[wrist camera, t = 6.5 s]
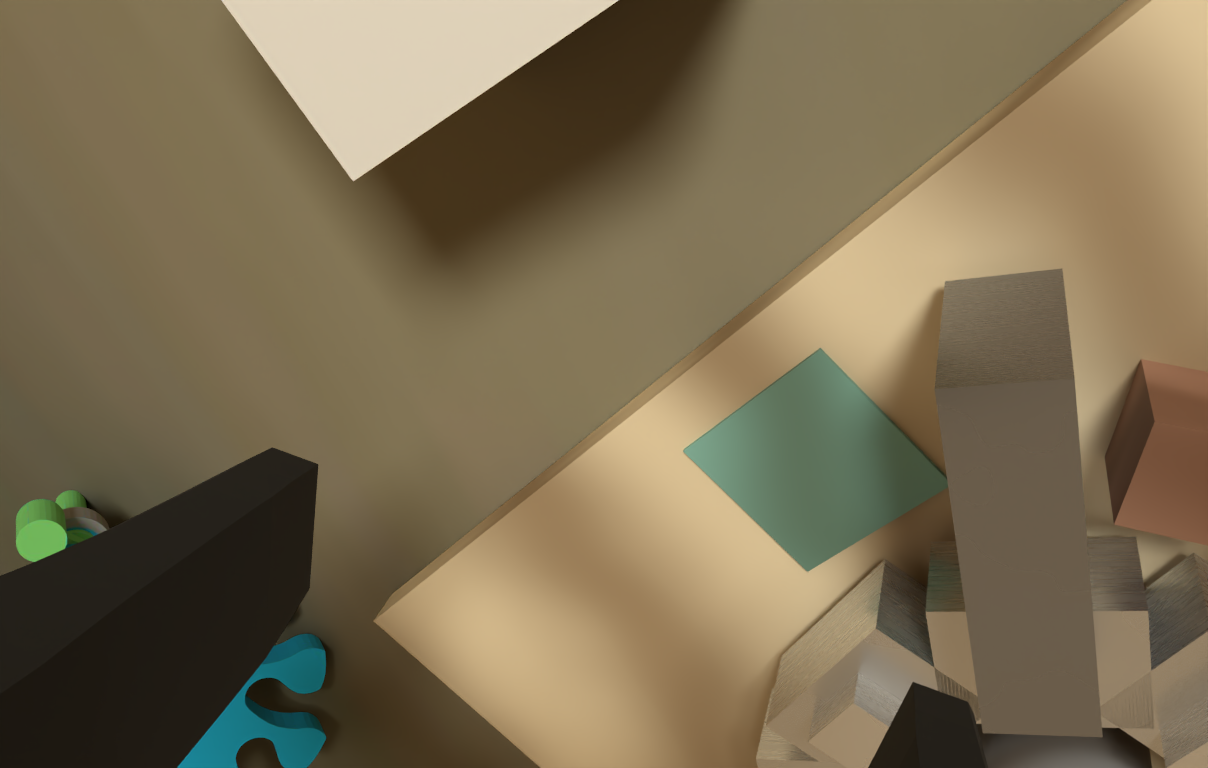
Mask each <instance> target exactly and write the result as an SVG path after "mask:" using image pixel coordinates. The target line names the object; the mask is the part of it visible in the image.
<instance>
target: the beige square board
mask: <svg viewBox="0 0 1208 768" xmlns="http://www.w3.org/2000/svg"><path fill="white" fill-rule="evenodd" d="M1053 269H1062V270H1063V279H1064V288H1065V296H1066V305H1067V314H1068V323H1069V332H1070V341H1071V350H1072V359H1073V368H1074V377H1075V389H1076V402H1077V415H1078V428H1079V441H1080V453H1081V466H1082V479H1083V492H1084V505H1085V517H1086V530H1087V538H1103V537H1136V540H1137V546H1138V552H1139V558H1140V564H1141V570H1142V576H1143V582H1144V588H1145V589H1146V588H1147V587H1148V586H1150V585H1151V584H1152V583H1154V582H1155V581H1156V580H1158V579H1159V578H1160V577H1162V576H1163V575H1164V574H1166V573H1167V572H1168V571H1170V570H1171V569H1172V568H1174V567H1175V566H1176V565H1178V564H1179V563H1180V562H1182V561H1183V560H1184V559H1186V558H1187V557H1188V556H1190V555H1191V554H1192V553H1195V554H1197V555H1198V556H1200V557H1201V558H1203V559H1204V560H1206V561H1207V562H1208V0H1127V1H1126V2H1125V3H1123V4H1122V5H1121V6H1120V7H1118V8H1117V9H1116V10H1115V11H1113V12H1112V13H1111V14H1110V15H1108V16H1107V17H1106V18H1105V19H1103V20H1102V21H1101V22H1100V23H1099V24H1097V25H1096V26H1095V27H1094V28H1092V29H1091V30H1090V31H1089V32H1087V33H1086V34H1085V35H1084V36H1082V37H1081V38H1080V39H1079V40H1077V41H1076V42H1075V43H1074V44H1073V45H1071V46H1070V47H1069V48H1068V49H1066V50H1065V51H1064V52H1063V53H1061V54H1060V55H1059V56H1058V57H1056V58H1055V59H1054V60H1053V61H1051V62H1050V63H1049V64H1048V65H1047V66H1045V67H1044V68H1043V69H1042V70H1040V71H1039V72H1038V73H1037V74H1035V75H1034V76H1033V77H1032V78H1030V79H1029V80H1028V81H1027V82H1025V83H1024V84H1023V85H1022V86H1021V87H1019V88H1018V89H1017V90H1016V91H1014V92H1013V93H1012V94H1011V95H1009V96H1008V97H1007V98H1006V99H1004V100H1003V101H1002V102H1001V103H999V104H998V105H997V106H996V107H995V108H993V109H992V110H991V111H990V112H988V113H987V114H986V115H985V116H983V117H982V118H981V119H980V120H978V121H977V122H976V123H975V124H973V125H972V126H971V127H970V128H969V129H967V130H966V131H965V132H964V133H962V134H961V135H960V136H959V137H957V138H956V139H955V140H954V141H952V142H951V143H950V144H949V145H947V146H946V147H945V148H944V149H943V150H941V151H940V152H939V153H938V154H936V155H935V156H934V157H933V158H931V159H930V160H929V161H928V162H926V163H925V164H924V165H923V166H921V167H920V168H919V169H918V170H917V171H915V172H914V173H913V174H912V175H910V176H909V177H908V178H907V179H905V180H904V181H903V182H902V183H900V184H899V185H898V186H897V187H895V188H894V189H893V190H892V191H891V192H889V193H888V194H887V195H886V196H884V197H883V198H882V199H881V200H879V201H878V202H877V203H876V204H874V205H873V206H872V207H871V208H869V209H868V210H867V211H866V212H865V213H863V214H862V215H861V216H860V217H858V218H857V219H856V220H855V221H853V222H852V223H851V224H850V225H848V226H847V227H846V228H845V229H843V230H842V231H841V232H840V233H839V234H837V235H836V236H835V237H834V238H832V239H831V240H830V241H829V242H827V243H826V244H825V245H824V246H822V247H821V248H820V249H819V250H817V251H816V252H815V253H814V254H813V255H811V256H810V257H809V258H808V259H806V260H805V261H804V262H803V263H801V264H800V265H799V266H798V267H796V268H795V269H794V270H793V271H791V272H790V273H789V274H788V275H787V276H785V277H784V278H783V279H782V280H780V281H779V282H778V283H777V284H775V285H774V286H773V287H772V288H770V289H769V290H768V291H767V292H765V293H764V294H763V295H762V296H761V297H759V298H758V299H757V300H756V301H754V302H753V303H752V304H751V305H749V306H748V307H747V308H746V309H744V310H743V311H742V312H741V313H739V314H738V315H737V316H736V317H735V318H733V319H732V320H731V321H730V322H728V323H727V324H726V325H725V326H723V327H722V328H721V329H720V330H718V331H717V332H716V333H715V334H713V335H712V336H711V337H710V338H709V339H707V340H706V341H705V342H704V343H702V344H701V345H700V346H699V347H697V348H696V349H695V350H694V351H692V352H691V353H690V354H689V355H687V356H686V357H685V358H684V359H683V360H681V361H680V362H679V363H678V364H676V365H675V366H674V367H673V368H671V369H670V370H669V371H668V372H666V373H665V374H664V375H663V376H661V377H660V378H659V379H658V380H657V381H655V382H654V383H653V384H652V385H650V386H649V387H648V388H647V389H645V390H644V391H643V392H642V393H640V394H639V395H638V396H637V397H635V398H634V399H633V400H632V401H631V402H629V403H628V404H627V405H626V406H624V407H623V408H622V409H621V410H619V411H618V412H617V413H616V414H614V415H613V416H612V417H611V418H609V419H608V420H607V421H606V422H605V423H603V424H602V425H601V426H600V427H598V428H597V429H596V430H595V431H593V432H592V433H591V434H590V435H588V436H587V437H586V438H585V439H583V440H582V441H581V442H580V443H579V444H577V445H576V446H575V447H574V448H572V449H571V450H570V451H569V452H567V453H566V454H565V455H564V456H562V457H561V458H560V459H559V460H557V461H556V462H555V463H554V464H553V465H551V466H550V467H549V468H548V469H546V470H545V471H544V472H543V473H541V474H540V475H539V476H538V477H536V478H535V479H534V480H533V481H531V482H530V483H529V484H528V485H527V486H525V487H524V488H523V489H522V490H520V491H519V492H518V493H517V494H515V495H514V496H513V497H512V498H510V499H509V500H508V501H507V502H505V503H504V504H503V505H502V506H501V507H499V508H498V509H497V510H496V511H494V512H493V513H492V514H491V515H489V516H488V517H487V518H486V519H484V520H483V521H482V522H481V523H479V524H478V525H477V526H476V527H475V528H473V529H472V530H471V531H470V532H468V533H467V534H466V535H465V536H463V537H462V538H461V539H460V540H458V541H457V542H456V543H455V544H453V545H452V546H451V547H450V548H449V549H447V550H446V551H445V552H444V553H442V554H441V555H440V556H439V557H437V558H436V559H435V560H434V561H432V562H431V563H430V564H429V565H427V566H426V567H425V568H424V569H423V570H421V571H420V572H419V573H418V574H416V575H415V576H414V577H413V578H411V579H410V580H409V581H408V582H406V583H405V584H404V585H403V586H401V587H400V588H399V589H398V590H397V591H395V592H394V593H393V594H392V595H391V596H390V597H389V599H388V600H387V602H386V603H385V605H384V606H383V608H382V609H381V611H380V612H379V613H378V615H377V616H376V618H375V619H374V622H375V623H376V624H377V625H379V626H380V627H381V628H382V629H383V630H384V631H385V632H387V633H388V634H389V635H390V636H391V637H392V638H393V639H395V640H396V641H397V642H398V643H399V644H400V645H401V646H403V647H404V648H405V649H406V650H407V651H408V652H409V653H410V654H412V655H413V656H414V657H415V658H416V659H417V660H418V661H420V662H421V663H422V664H423V665H424V666H425V667H426V668H428V669H429V670H430V671H431V672H432V673H433V674H434V675H436V676H437V677H438V678H439V679H440V680H441V681H442V682H443V683H445V684H446V685H447V686H448V687H449V688H450V689H451V690H453V691H454V692H455V693H456V694H457V695H458V696H459V697H461V698H462V699H463V700H464V701H465V702H466V703H467V704H469V705H470V706H471V707H472V708H473V709H474V710H475V711H477V712H478V713H479V714H480V715H481V716H482V717H483V718H484V719H486V720H487V721H488V722H489V723H490V724H491V725H492V726H494V727H495V728H496V729H497V730H498V731H499V732H500V733H502V734H503V735H504V736H505V737H506V738H507V739H508V740H510V741H511V742H512V743H513V744H514V745H515V746H516V747H518V748H519V749H520V750H521V751H522V752H523V753H524V754H525V755H527V756H528V757H529V758H530V759H531V760H532V761H533V762H535V763H536V764H537V765H538V766H539V767H540V768H758V766H757V762H756V755H757V751H758V747H759V743H760V738H761V734H762V730H763V725H764V721H765V717H766V713H767V708H768V704H769V700H770V695H771V691H772V688H775V683H776V679H777V675H778V670H779V666H780V662H781V657H782V655H783V654H784V653H785V652H786V651H788V650H789V649H790V648H791V647H792V646H793V645H794V644H795V643H796V642H797V641H798V640H799V639H800V638H801V637H802V636H804V635H805V634H806V633H807V632H808V631H809V630H810V629H811V628H812V627H813V626H814V625H815V624H816V623H817V622H818V621H820V620H821V619H822V618H823V617H824V616H825V615H826V614H827V613H828V612H829V611H830V610H831V609H832V608H833V607H834V606H836V605H837V604H838V603H839V602H840V601H841V600H842V599H843V598H844V597H845V596H846V595H847V594H848V593H849V592H850V591H852V590H853V589H854V588H855V587H856V586H857V585H858V584H859V583H860V582H861V581H862V580H863V579H864V578H865V577H866V576H868V575H869V574H870V573H871V572H872V571H873V570H874V569H875V568H876V567H877V566H878V565H879V564H880V563H881V562H882V561H884V560H885V559H886V560H888V561H889V562H890V563H892V564H893V565H895V566H896V567H898V568H899V569H901V570H902V571H904V572H905V573H907V574H908V575H910V576H911V577H913V578H914V579H916V580H917V581H919V582H920V583H922V584H923V585H925V586H926V587H928V575H929V563H930V551H931V542H950V541H956V539H955V531H954V524H953V517H952V510H951V503H950V496H949V489H948V482H947V474H946V467H945V460H944V453H943V446H942V439H941V432H940V425H939V417H938V410H937V403H936V396H935V379H936V369H937V358H938V348H939V338H940V328H941V317H942V307H943V297H944V286H945V281H952V280H961V279H970V278H979V277H988V276H998V275H1007V274H1016V273H1025V272H1034V271H1043V270H1053ZM977 728H978V732H979V736H980V739H981V743H982V747H983V750H984V754H985V757H986V761H987V765H988V768H1166V767H1165V760H1164V758H1163V757H1162V756H1160V755H1159V754H1157V753H1156V752H1154V751H1153V750H1151V749H1150V748H1148V747H1147V746H1145V745H1144V744H1142V743H1141V742H1139V741H1138V740H1136V739H1135V738H1133V737H1132V736H1130V735H1129V734H1127V733H1126V732H1124V731H1123V730H1121V729H1120V728H1102V735H1103V737H1081V736H1051V735H1022V734H993V733H983V731H982V724H977Z"/></svg>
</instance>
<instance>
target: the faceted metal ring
mask: <svg viewBox="0 0 1208 768" xmlns="http://www.w3.org/2000/svg"><path fill="white" fill-rule="evenodd" d="M935 396H936V403H937V410H938V417H939V425H940V432H941V439H942V446H943V453H944V460H945V467H946V474H947V482H948V489H949V496H950V503H951V510H952V517H953V524H954V531H955V539H956V541H950V542H931V551H930V563H929V575H928V587H926V586H925V585H923V584H922V583H920V582H919V581H917V580H916V579H914V578H913V577H911V576H910V575H908V574H907V573H905V572H904V571H902V570H901V569H899V568H898V567H896V566H895V565H893V564H892V563H890V562H889V561H888V560H886V559H885V560H884V561H882V562H881V563H880V564H879V565H878V566H877V567H876V568H875V569H874V570H873V571H872V572H871V573H870V574H869V575H868V576H866V577H865V578H864V579H863V580H862V581H861V582H860V583H859V584H858V585H857V586H856V587H855V588H854V589H853V590H852V591H850V592H849V593H848V594H847V595H846V596H845V597H844V598H843V599H842V600H841V601H840V602H839V603H838V604H837V605H836V606H834V607H833V608H832V609H831V610H830V611H829V612H828V613H827V614H826V615H825V616H824V617H823V618H822V619H821V620H820V621H818V622H817V623H816V624H815V625H814V626H813V627H812V628H811V629H810V630H809V631H808V632H807V633H806V634H805V635H804V636H802V637H801V638H800V639H799V640H798V641H797V642H796V643H795V644H794V645H793V646H792V647H791V648H790V649H789V650H788V651H786V652H785V653H784V654H783V655H782V657H781V662H780V666H779V670H778V675H777V679H776V683H775V688H772V691H771V695H770V700H769V704H768V708H767V713H766V717H765V721H764V725H763V730H762V734H761V738H760V743H759V747H758V751H757V755H756V762H757V766H758V768H868V767H869V765H870V763H871V761H872V759H873V757H874V755H875V753H876V752H877V750H878V748H879V746H880V744H881V742H882V740H883V738H884V736H885V734H886V732H887V730H888V729H889V727H890V725H891V723H892V721H893V719H894V717H895V715H896V713H897V711H898V709H899V707H900V705H901V704H902V702H903V700H904V698H905V696H906V694H907V692H908V690H909V688H910V686H911V684H912V682H915V683H918V684H921V685H923V686H926V687H929V688H932V689H934V690H937V691H940V692H943V693H945V694H948V695H951V696H954V697H956V698H959V699H962V700H965V701H967V702H968V703H969V705H970V707H971V709H972V711H973V713H974V717H975V721H976V724H982V731H983V733H993V734H1022V735H1051V736H1081V737H1103V735H1102V728H1120V729H1121V730H1123V731H1124V732H1126V733H1127V734H1129V735H1130V736H1132V737H1133V738H1135V739H1136V740H1138V741H1139V742H1141V743H1142V744H1144V745H1145V746H1147V747H1148V748H1150V749H1151V750H1153V751H1154V752H1156V753H1157V754H1159V755H1160V756H1162V757H1163V758H1164V760H1165V767H1166V768H1208V562H1207V561H1206V560H1204V559H1203V558H1201V557H1200V556H1198V555H1197V554H1195V553H1192V554H1191V555H1190V556H1188V557H1187V558H1186V559H1184V560H1183V561H1182V562H1180V563H1179V564H1178V565H1176V566H1175V567H1174V568H1172V569H1171V570H1170V571H1168V572H1167V573H1166V574H1164V575H1163V576H1162V577H1160V578H1159V579H1158V580H1156V581H1155V582H1154V583H1152V584H1151V585H1150V586H1148V587H1147V588H1146V589H1145V588H1144V582H1143V576H1142V570H1141V564H1140V558H1139V552H1138V546H1137V540H1136V537H1103V538H1087V530H1086V517H1085V505H1084V492H1083V479H1082V466H1081V453H1080V441H1079V428H1078V415H1077V402H1076V389H1075V377H1074V368H1073V359H1072V350H1071V341H1070V332H1069V323H1068V314H1067V305H1066V296H1065V288H1064V279H1063V270H1062V269H1053V270H1043V271H1034V272H1025V273H1016V274H1007V275H998V276H988V277H979V278H970V279H961V280H952V281H945V286H944V297H943V307H942V317H941V328H940V338H939V348H938V358H937V369H936V379H935Z"/></svg>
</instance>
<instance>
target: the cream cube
mask: <svg viewBox="0 0 1208 768" xmlns="http://www.w3.org/2000/svg"><path fill="white" fill-rule="evenodd" d="M617 1H618V0H222V2H223V3H224V4H225V6H226V7H227V9H228V10H229V11H230V13H231V14H232V15H233V17H234V18H235V20H236V21H237V22H238V24H239V25H240V26H241V28H242V29H243V31H244V32H245V33H246V35H247V36H248V37H249V39H250V40H251V42H252V43H253V44H254V46H255V47H256V48H257V50H258V51H259V53H260V54H261V55H262V57H263V58H264V59H265V61H266V62H267V64H268V65H269V66H270V68H271V69H272V70H273V72H274V73H275V75H276V76H277V77H278V79H279V80H280V81H281V83H282V84H283V86H284V87H285V88H286V90H287V91H288V92H289V94H290V95H291V97H292V98H293V99H294V101H295V102H296V103H297V105H298V106H299V108H300V109H301V110H302V112H303V113H304V114H305V116H306V117H307V119H308V120H309V121H310V123H311V124H312V125H313V127H314V128H315V130H316V131H317V132H318V134H319V135H320V136H321V138H322V139H323V141H324V142H325V143H326V145H327V146H328V147H329V149H330V150H331V152H332V153H333V154H334V156H335V157H336V158H337V160H338V161H339V163H340V164H341V165H342V167H343V168H344V169H345V171H346V172H347V174H348V175H349V176H350V178H351V179H352V180H353V181H354V180H356V179H357V178H359V177H360V176H362V175H363V174H365V173H366V172H368V171H369V170H371V169H372V168H374V167H375V166H376V165H378V164H379V163H381V162H382V161H384V160H385V159H387V158H388V157H390V156H391V155H393V154H394V153H396V152H397V151H398V150H400V149H401V148H403V147H404V146H406V145H407V144H409V143H410V142H412V141H413V140H415V139H416V138H418V137H419V136H420V135H422V134H423V133H425V132H426V131H428V130H429V129H431V128H432V127H434V126H435V125H437V124H438V123H440V122H441V121H442V120H444V119H445V118H447V117H448V116H450V115H451V114H453V113H454V112H456V111H457V110H459V109H460V108H462V107H463V106H464V105H466V104H467V103H469V102H470V101H472V100H473V99H475V98H476V97H478V96H479V95H481V94H482V93H484V92H485V91H486V90H488V89H489V88H491V87H492V86H494V85H495V84H497V83H498V82H500V81H501V80H503V79H504V78H506V77H507V76H508V75H510V74H511V73H513V72H514V71H516V70H517V69H519V68H520V67H522V66H523V65H525V64H526V63H527V62H529V61H530V60H532V59H533V58H535V57H536V56H538V55H539V54H541V53H542V52H544V51H545V50H547V49H548V48H549V47H551V46H552V45H554V44H555V43H557V42H558V41H560V40H561V39H563V38H564V37H566V36H567V35H569V34H570V33H571V32H573V31H574V30H576V29H577V28H579V27H580V26H582V25H583V24H585V23H586V22H588V21H589V20H591V19H592V18H593V17H595V16H596V15H598V14H599V13H601V12H602V11H604V10H605V9H607V8H608V7H610V6H611V5H613V4H614V3H615V2H617Z"/></svg>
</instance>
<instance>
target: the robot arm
mask: <svg viewBox="0 0 1208 768" xmlns="http://www.w3.org/2000/svg"><path fill="white" fill-rule="evenodd" d="M317 475H318V464H316V463H313V462H311V461H308V460H305V459H302V458H300V457H297V456H294V455H291V454H289V453H286V452H283V451H280V450H278V449H275V448H270V449H268V450H266V451H264V452H262V453H260V454H258V455H256V456H254V457H252V458H250V459H248V460H246V461H244V462H242V463H240V464H238V465H236V466H234V467H232V468H230V469H228V470H226V471H224V472H222V473H220V474H218V475H216V476H214V477H212V478H210V479H209V480H207V481H205V482H203V483H201V484H199V485H197V486H195V487H193V488H191V489H189V490H187V491H185V492H183V493H181V494H179V495H177V496H175V497H173V498H171V499H169V500H167V501H165V502H163V503H161V504H159V505H157V506H155V507H153V508H151V509H149V510H147V511H145V512H143V513H141V514H139V515H137V516H135V517H133V518H131V519H129V520H126V521H124V522H122V523H120V524H118V525H116V526H114V527H112V528H110V529H108V530H106V531H104V532H102V533H99V534H97V535H95V536H93V537H91V538H88V539H86V540H84V541H82V542H79V543H77V544H75V545H72V546H70V547H68V548H66V549H63V550H61V551H59V552H56V553H54V554H52V555H50V556H47V557H45V558H43V559H40V560H38V561H36V562H33V563H31V564H29V565H27V566H24V567H22V568H19V569H17V570H14V571H12V572H9V573H7V574H4V575H1V576H0V768H177V767H178V766H179V765H180V764H181V762H182V761H183V760H184V759H185V757H186V756H187V755H188V754H189V753H190V751H191V750H192V749H193V748H194V746H195V745H196V744H197V743H198V742H199V740H200V739H201V738H202V737H203V736H204V734H205V733H206V732H207V731H208V729H209V728H210V727H211V726H212V725H213V723H214V722H215V721H216V720H217V718H218V717H219V716H220V715H221V714H222V712H223V711H224V710H225V709H226V707H227V706H228V705H229V704H230V702H231V701H232V700H233V699H234V697H235V696H236V695H237V694H238V693H239V691H240V690H241V689H242V688H243V686H244V685H245V684H246V683H247V681H248V680H249V679H250V678H251V676H252V675H253V674H254V673H255V671H256V670H257V669H258V668H259V666H260V665H261V664H262V662H263V661H264V660H265V659H266V657H267V656H268V654H269V653H270V651H271V649H272V648H273V646H274V645H275V643H276V642H277V640H278V638H279V637H280V635H281V634H282V632H283V631H284V629H285V628H286V626H287V624H288V623H289V621H290V619H291V618H292V616H293V614H294V613H295V611H296V609H297V608H298V606H299V605H300V603H301V601H302V600H303V598H304V596H305V595H306V593H307V591H308V590H309V588H310V574H311V559H312V545H313V531H314V517H315V503H316V489H317ZM868 768H988V765H987V761H986V757H985V754H984V750H983V747H982V743H981V739H980V736H979V732H978V728H977V724H976V721H975V717H974V713H973V711H972V709H971V707H970V705H969V703H968V702H967V701H965V700H962V699H959V698H956V697H954V696H951V695H948V694H945V693H943V692H940V691H937V690H934V689H932V688H929V687H926V686H923V685H921V684H918V683H915V682H912V684H911V686H910V688H909V690H908V692H907V694H906V696H905V698H904V700H903V702H902V704H901V705H900V707H899V709H898V711H897V713H896V715H895V717H894V719H893V721H892V723H891V725H890V727H889V729H888V730H887V732H886V734H885V736H884V738H883V740H882V742H881V744H880V746H879V748H878V750H877V752H876V753H875V755H874V757H873V759H872V761H871V763H870V765H869V767H868Z"/></svg>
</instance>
